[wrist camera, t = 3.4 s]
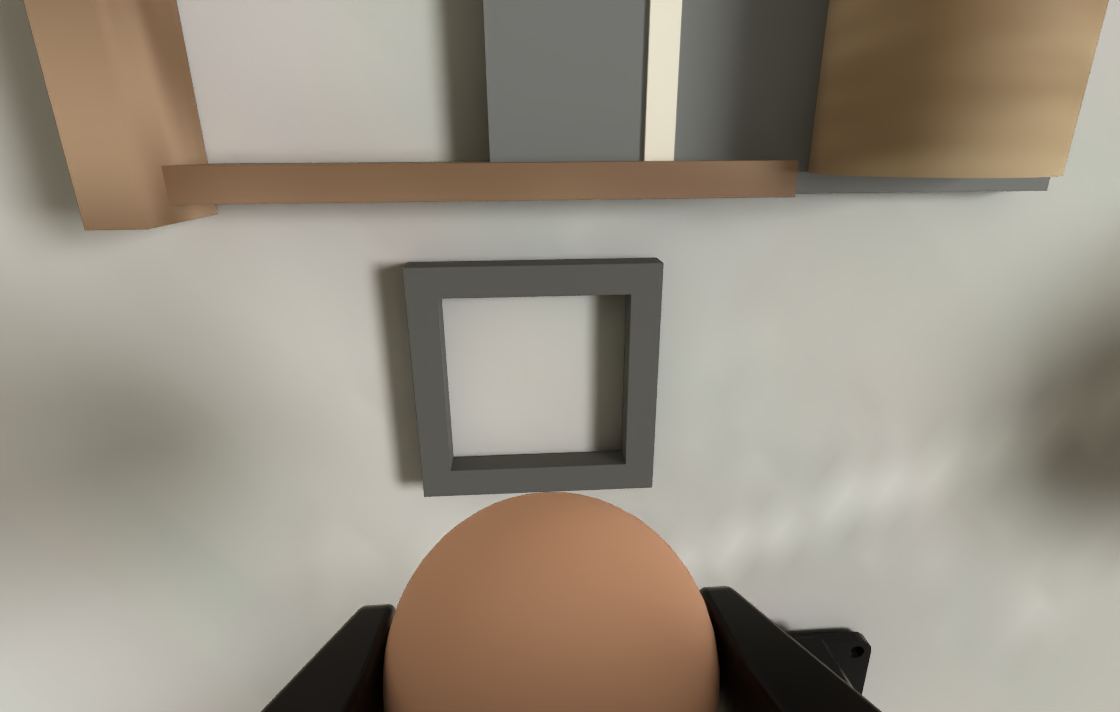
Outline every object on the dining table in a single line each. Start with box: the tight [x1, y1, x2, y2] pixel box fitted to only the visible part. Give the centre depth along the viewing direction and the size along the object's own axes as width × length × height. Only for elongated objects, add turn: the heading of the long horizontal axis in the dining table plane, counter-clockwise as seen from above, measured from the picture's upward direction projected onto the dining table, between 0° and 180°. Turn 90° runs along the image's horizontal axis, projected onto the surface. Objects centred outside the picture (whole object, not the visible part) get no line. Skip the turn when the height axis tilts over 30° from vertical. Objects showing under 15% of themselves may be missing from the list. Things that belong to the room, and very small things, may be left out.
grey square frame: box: [403, 258, 663, 497], centre depth 16 cm, size 7×7×1 cm
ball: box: [383, 492, 720, 712], centre depth 7 cm, size 4×4×4 cm
